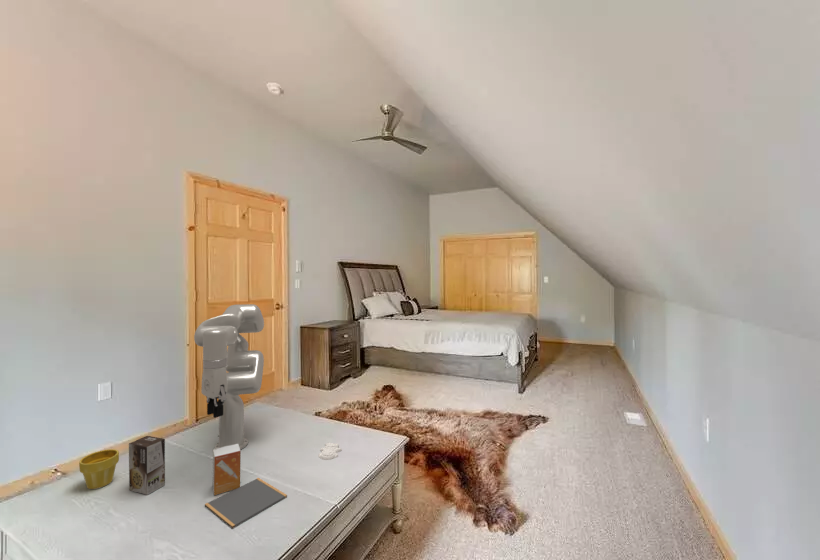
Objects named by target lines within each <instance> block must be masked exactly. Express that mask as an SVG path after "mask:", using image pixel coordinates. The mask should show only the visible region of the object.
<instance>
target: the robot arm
mask: <svg viewBox="0 0 820 560" xmlns="http://www.w3.org/2000/svg"><path fill="white" fill-rule="evenodd" d="M224 310H225V311H224V312H223V313H222V314H221V315H220V314H219V315H217V316H214V317H211V318H208V319H206V320H204V321H202V322H201V323H200V324H199V325H198V326H197V327H196V330H195V332H194V335H193V339H194V340H193V341H194V343H195V344H196V345H197V346H198V347H202V376H201V390H200V391H201V395H203V396H204V397H206V404H207V405H206V409H207V411H206V414H207V416H210V415H213V418H214V419H216V418H218V434H217V437H218V442H217V443H216V444H215V446H214V449H217V448H221V447H225V446H230V445H235V444H239V447H240V450H242V449H244V448H245V447H247V445H248V443H249V440H248V438H246V437H245V420H244V419H245V406H244V405H245V403H244V401H243V399H242V398H241V396H240V395H250V394H256V393H259V391H260V390H261V387H262V385H263V384H262V382H263V373H264V366H265V364H264V362H265V359H264V354H263V352H262V351H260V350H254V349H253V350H249V342H248V341H247V340H246V338H245V337H244V336H242V334H247V333H248V334H249V333H250V334H251V333H254V334H255V333H256V334H257V333H260V332H262V331H263V330H264V327H265V319H264V317H263V313H262V310H261V308H260V307H259V306H258V305H256V304H254V303H253V304H248V303H247V304H231V305H229V306H228V307H227V308H225V309H224Z"/></svg>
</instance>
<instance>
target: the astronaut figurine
mask: <svg viewBox="0 0 820 560" xmlns="http://www.w3.org/2000/svg"><path fill="white" fill-rule="evenodd" d="M339 446H340V445H339V443H333V442H327V443H325V444H324V447H321V448H320V450H319V451H320V452H319V453H318V458H320V459H321V460H323V461H331V460H333V459H336V458H338V457H339V453H340V452H342V451H343V449H342V448H341V447H339Z"/></svg>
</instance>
